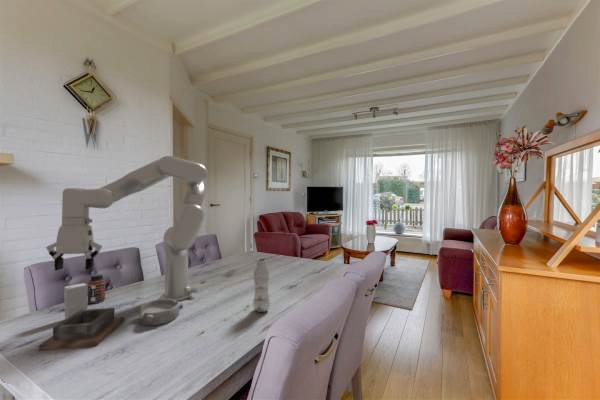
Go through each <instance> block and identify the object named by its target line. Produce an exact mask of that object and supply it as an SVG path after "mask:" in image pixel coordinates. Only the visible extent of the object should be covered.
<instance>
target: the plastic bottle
mask: <svg viewBox="0 0 600 400" xmlns="http://www.w3.org/2000/svg"><path fill="white" fill-rule="evenodd" d="M269 280H270V270H269V268H268V267H267V259H266V258H258V259H256V267H255V269H254V270H253V281H254V298H253V304H252V306H253V310H254V311H255V312H257V313H264V312H267V311H268V310H269V309H270V304H271V301H270V297H269V283H270V281H269Z"/></svg>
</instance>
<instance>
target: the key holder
mask: <svg viewBox="0 0 600 400" xmlns="http://www.w3.org/2000/svg"><path fill="white" fill-rule="evenodd" d="M124 321H125V316H124V315H122V316H115V307H107V308H105V307H104V308H103V307H102V308H87V309H86V310H80V311H78V312H77V313H75V314H73V315H72V316H70V317H69V318H67V319H66V320H65V319H64V320H62V321H61V322H59V323H58V324H57V325H55V326H53V327H52V335H51V337H49V338H48V339H46V340H45V341H43V342H42V343H40V344H39V345H38V351H51V350H63V349H64V350H65V349H74V348H87V347H88V348H89V347H98V346H99V345H100V344H101V343H102V342H103V341H104V340H105V339H106V338H107V337H108V336H110V334H111V333H112V332H113V331H115V330H116V329H117V328H118V327H119V326H120V325H121V324H122V323H123V322H124Z"/></svg>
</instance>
